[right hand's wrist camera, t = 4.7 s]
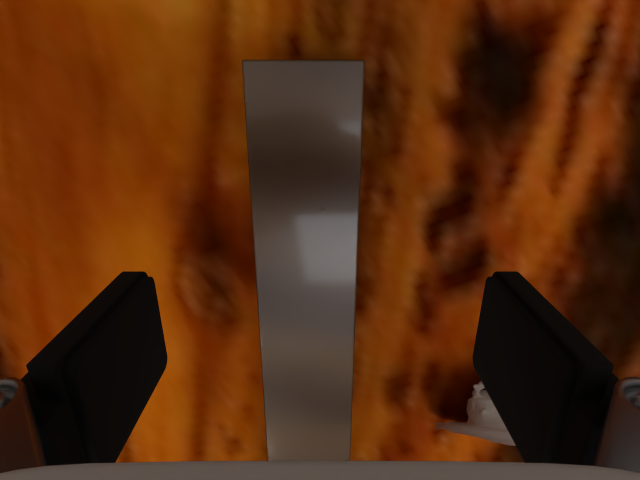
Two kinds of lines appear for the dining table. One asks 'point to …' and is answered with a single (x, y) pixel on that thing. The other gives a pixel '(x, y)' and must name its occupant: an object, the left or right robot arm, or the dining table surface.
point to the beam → (305, 247)
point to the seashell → (481, 419)
